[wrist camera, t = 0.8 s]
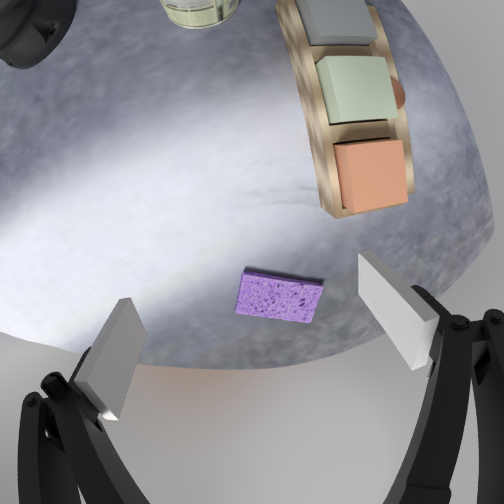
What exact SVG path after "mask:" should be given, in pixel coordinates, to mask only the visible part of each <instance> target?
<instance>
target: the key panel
mask: <svg viewBox="0 0 504 504" xmlns="http://www.w3.org/2000/svg"><path fill="white" fill-rule="evenodd" d="M367 8H368V10H369V13H370V15H371V18H372V20H373V23H374V26H375V29H376V32H377V35H378V38H377V39H375V40H374V41H372V42H370V43H369V44H367V45H365V46H309V43H308V40H307V36H306V33H305V30H304V27H303V24H302V21H301V18H300V15H299V12H298V9H297V7H296V4H295V1H294V0H278V2H277V4H276V7H275V11H276V14H277V17H278V20H279V23H280V26H281V29H282V33H283V36H284V39H285V43H286V46H287V50H288V53H289V57H290V60H291V64H292V68H293V71H294V75H295V79H296V83H297V87H298V91H299V95H300V99H301V104H302V108H303V112H304V117H305V121H306V126H307V131H308V136H309V141H310V146H311V151H312V156H313V162H314V167H315V173H316V179H317V184H318V191H319V197H320V204H321V208H323V209H324V210H325V211H326V212H328V213H329V214H330V215H332V216H333V217H334V218H335V219H338V218H343V217H347V216H352V215H356V214H361V213H366V212H370V211H375V210H380V209H385V208H389V207H394V206H399V205H403V203H400V204H395V205H390V206H386V207H381V208H376V209H371V210H366V211H362V212H357V213H354V212H352V211H351V210H349V209H347V208H346V207H344V206H343V205H342V201H341V193H340V186H339V179H338V173H337V166H336V160H335V154H334V148H333V144H339V143H347V142H355V141H363V140H373V139H396V140H402V143H403V151H404V159H405V169H406V181H407V194H411V193H415V189H414V174H413V163H412V153H411V145H410V137H409V130H408V124H407V118H406V112H405V107H404V102H405V92H404V89H403V87H402V86H401V84H400V83H399V80H398V76H397V72H396V68H395V64H394V61H393V57H392V54H391V50H390V47H389V44H388V41H387V38H386V35H385V32H384V29H383V26H382V23H381V21H380V18H379V15H378V13H377V10H376V8H375V6H369V5H367ZM325 56H374V57H385V60H386V64H387V68H388V71H389V75H390V79H391V83H392V88H393V92H394V97H395V101H396V106H397V112H398V117H399V118H387V119H374V120H361V121H350V122H340V123H331V124H329V122H328V117H327V113H326V108H325V104H324V99H323V95H322V91H321V87H320V83H319V79H318V75H317V71H316V67H315V65H316V64H317V63H318V62H319V61H320V60H321V59H323V58H324V57H325Z"/></svg>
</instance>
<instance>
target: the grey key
mask: <svg viewBox="0 0 504 504" xmlns="http://www.w3.org/2000/svg"><path fill="white" fill-rule="evenodd" d="M294 1H295V4H296V7H297V9H298V12H299V15H300V18H301V21H302V24H303V27H304V30H305V33H306V36H307V40H308V43H309V46H365V45H367V44H369V43H370V42H372V41H374V40H375V39H377V38H378V35H377V32H376V29H375V26H374V23H373V20H372V18H371V15H370V13H369V10H368V8H367V5H366V3H365V0H294Z"/></svg>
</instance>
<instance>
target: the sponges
mask: <svg viewBox="0 0 504 504" xmlns="http://www.w3.org/2000/svg"><path fill="white" fill-rule="evenodd" d="M322 289H323V286H322V285H321V284H320V283H315V282H308V281H302V280H297V279H291V278H284V277H279V276H273V275H267V274H262V273H256V272H251V271H246V272H243V273H242V276H241V282H240V288H239V294H238V298H237V303H236V307H235V310H236V313H239V314H249V315H253V316H263V317H265V316H266V317H270V318H276V319H278V318H282V319H284V320H291V321H299V322H306V323H310V322H311V319H312V317H313V314H314V312H315V307H316V306H317V303H318V299H319V297H320V295H321V292H322Z"/></svg>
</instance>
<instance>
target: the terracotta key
mask: <svg viewBox="0 0 504 504" xmlns="http://www.w3.org/2000/svg"><path fill="white" fill-rule="evenodd" d="M333 148H334V154H335V160H336V166H337V173H338V179H339V186H340V193H341V201H342V205H343V206H344V207H346V208H347V209H349V210H351V211H352V212H354V213H357V212H362V211H366V210H371V209H376V208H381V207H386V206H390V205H395V204H400V203H405V202H408V196H407V181H406V169H405V159H404V151H403V143H402V140H396V139H373V140H363V141H355V142H347V143H339V144H333Z"/></svg>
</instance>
